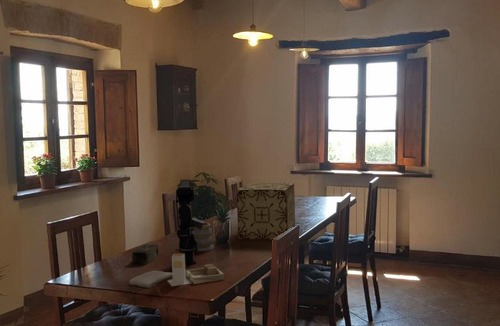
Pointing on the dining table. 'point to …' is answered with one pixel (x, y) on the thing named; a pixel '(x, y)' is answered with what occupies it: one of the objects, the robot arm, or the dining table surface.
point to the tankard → (203, 237)
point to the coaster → (180, 283)
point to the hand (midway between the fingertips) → (186, 246)
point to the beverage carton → (144, 254)
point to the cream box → (178, 268)
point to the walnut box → (210, 270)
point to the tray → (203, 276)
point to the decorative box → (265, 210)
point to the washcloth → (150, 278)
